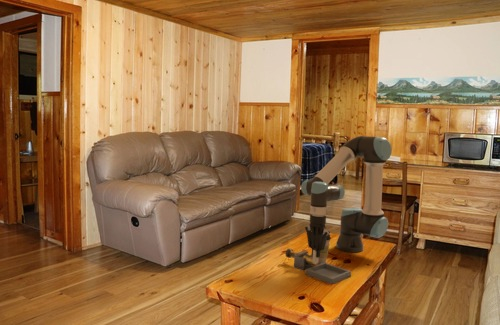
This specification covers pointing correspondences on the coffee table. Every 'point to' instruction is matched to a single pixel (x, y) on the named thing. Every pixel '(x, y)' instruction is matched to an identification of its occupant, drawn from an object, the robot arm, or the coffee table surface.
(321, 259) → the coffee cup
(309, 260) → the lock pin
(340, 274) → the grey square tray
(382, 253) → the coffee table surface
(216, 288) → the coffee table surface
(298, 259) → the pin mount
